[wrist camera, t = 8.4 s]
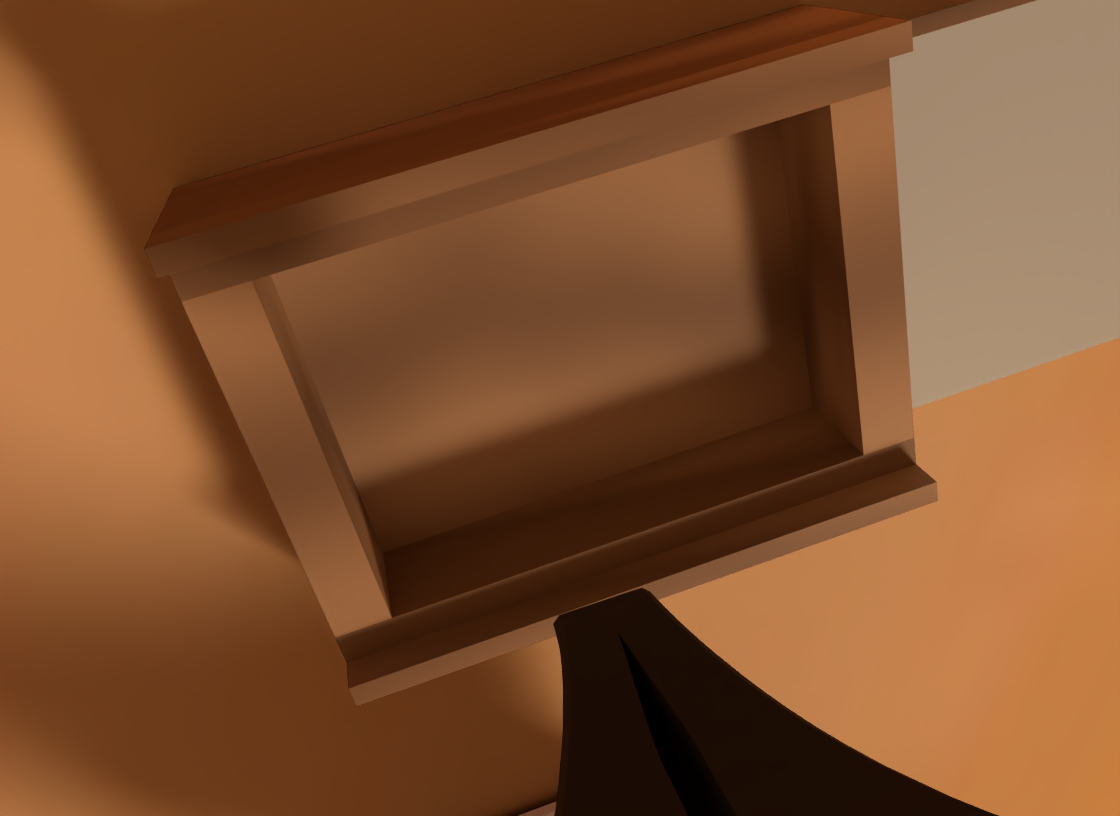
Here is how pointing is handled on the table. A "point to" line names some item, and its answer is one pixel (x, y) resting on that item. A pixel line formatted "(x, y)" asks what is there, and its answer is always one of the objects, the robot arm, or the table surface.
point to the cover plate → (1007, 187)
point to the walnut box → (568, 336)
